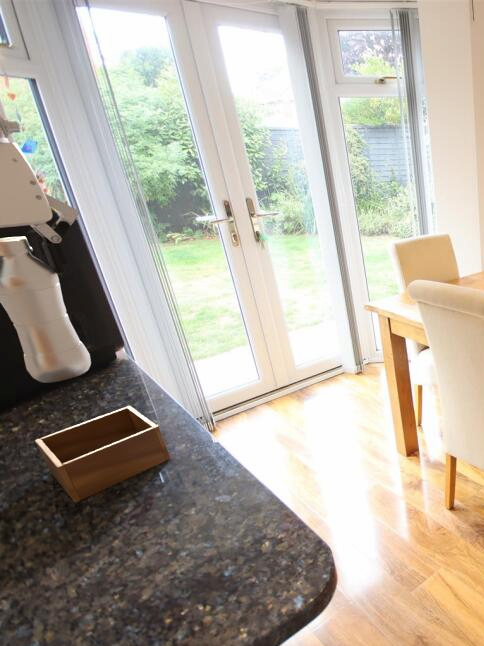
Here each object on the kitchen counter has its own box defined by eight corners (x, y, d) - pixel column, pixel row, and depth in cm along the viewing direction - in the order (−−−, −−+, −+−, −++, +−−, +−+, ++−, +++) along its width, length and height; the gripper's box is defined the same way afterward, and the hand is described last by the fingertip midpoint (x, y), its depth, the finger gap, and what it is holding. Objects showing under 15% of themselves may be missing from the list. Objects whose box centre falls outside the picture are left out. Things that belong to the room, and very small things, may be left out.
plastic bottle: (34, 378, 67) (-31, 240, 59) (94, 363, 71) (41, 233, 64) (34, 393, 63) (-36, 246, 55) (98, 376, 67) (41, 238, 59)
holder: (51, 473, 70) (34, 440, 67) (142, 436, 78) (129, 405, 76) (75, 503, 63) (57, 467, 61) (171, 458, 72) (158, 426, 70)
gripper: (48, 132, 63) (95, 261, 70) (-165, 129, 50) (-81, 288, 57) (64, 130, 59) (113, 268, 66) (-163, 126, 46) (-73, 298, 53)
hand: (22, 276), depth 61 cm, fingers closed on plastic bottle, 6 cm apart
